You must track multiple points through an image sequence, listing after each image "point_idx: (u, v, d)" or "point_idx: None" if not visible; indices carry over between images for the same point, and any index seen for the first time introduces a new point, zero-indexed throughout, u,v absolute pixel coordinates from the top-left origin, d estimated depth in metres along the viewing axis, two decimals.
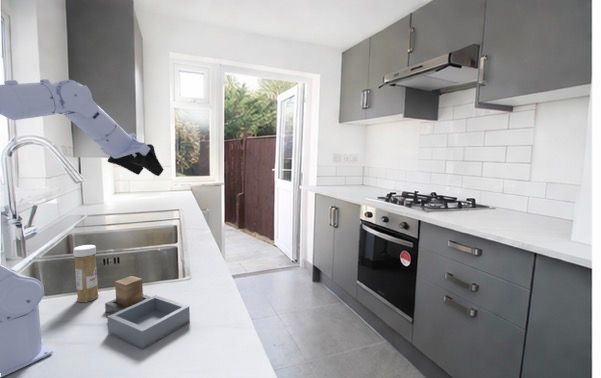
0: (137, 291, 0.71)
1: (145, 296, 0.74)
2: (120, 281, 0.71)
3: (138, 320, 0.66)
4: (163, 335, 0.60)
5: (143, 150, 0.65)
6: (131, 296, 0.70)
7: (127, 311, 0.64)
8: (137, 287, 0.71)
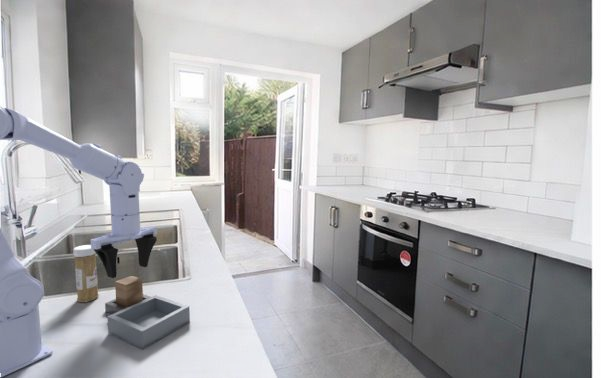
0: (137, 291, 0.71)
1: (145, 296, 0.74)
2: (120, 281, 0.71)
3: (138, 320, 0.66)
4: (163, 335, 0.60)
5: (92, 243, 0.64)
6: (131, 296, 0.70)
7: (127, 311, 0.64)
8: (137, 287, 0.71)
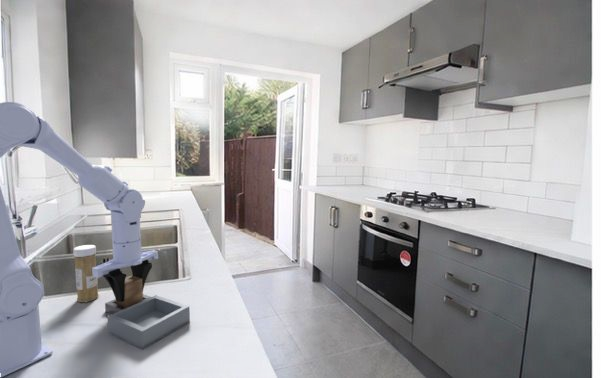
0: (137, 291, 0.71)
1: (145, 296, 0.74)
2: None
3: (138, 320, 0.66)
4: (163, 335, 0.60)
5: (93, 272, 0.65)
6: (131, 296, 0.70)
7: (127, 311, 0.64)
8: (137, 287, 0.71)
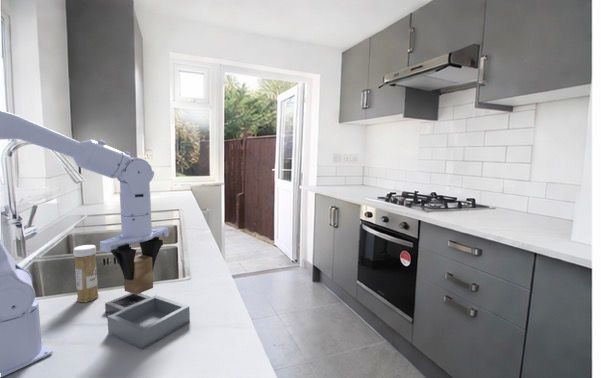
0: (147, 270, 0.66)
1: (145, 296, 0.74)
2: None
3: (138, 320, 0.66)
4: (163, 335, 0.60)
5: (101, 246, 0.60)
6: (141, 275, 0.65)
7: (127, 311, 0.64)
8: (147, 266, 0.66)
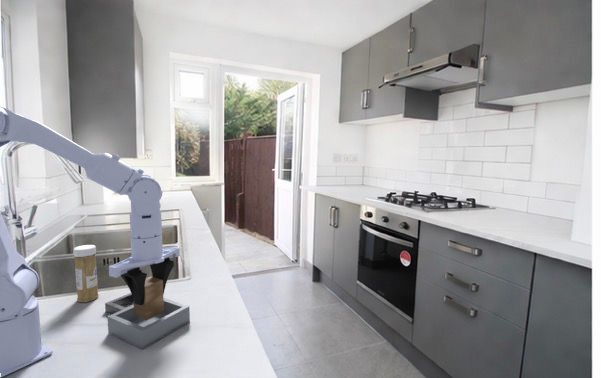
0: (157, 294, 0.63)
1: None
2: None
3: (138, 320, 0.66)
4: (163, 335, 0.60)
5: (110, 271, 0.56)
6: (151, 299, 0.62)
7: (127, 311, 0.64)
8: (158, 289, 0.63)
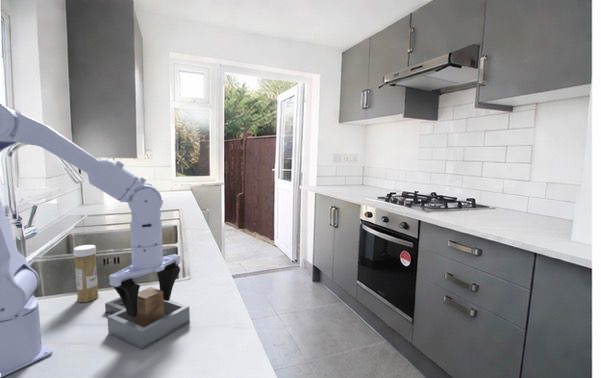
0: (158, 305, 0.63)
1: None
2: (139, 294, 0.63)
3: None
4: (163, 335, 0.60)
5: (111, 280, 0.57)
6: (151, 311, 0.62)
7: None
8: (158, 300, 0.63)
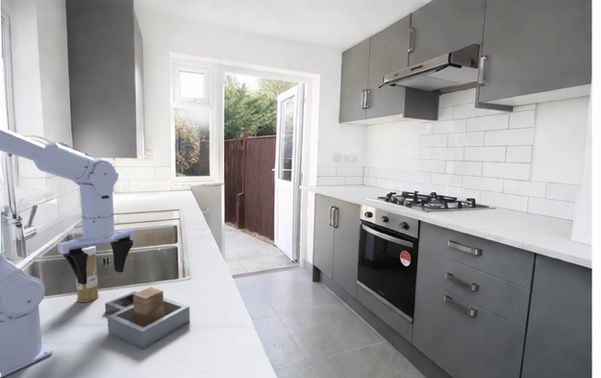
0: (158, 305, 0.63)
1: None
2: (139, 294, 0.63)
3: None
4: (163, 335, 0.60)
5: (59, 248, 0.60)
6: (151, 311, 0.62)
7: (127, 311, 0.64)
8: (158, 300, 0.63)
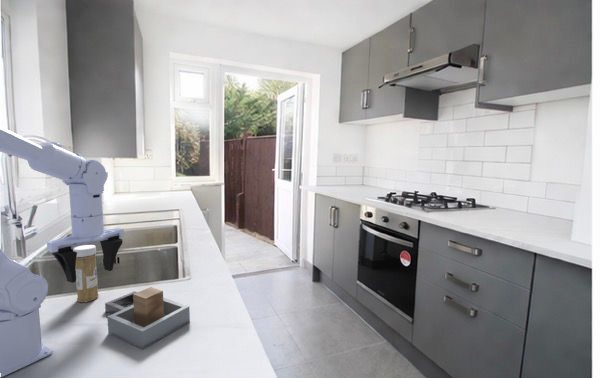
0: (158, 305, 0.63)
1: None
2: (139, 294, 0.63)
3: None
4: (163, 335, 0.60)
5: (48, 246, 0.61)
6: (151, 311, 0.62)
7: (127, 311, 0.64)
8: (158, 300, 0.63)
